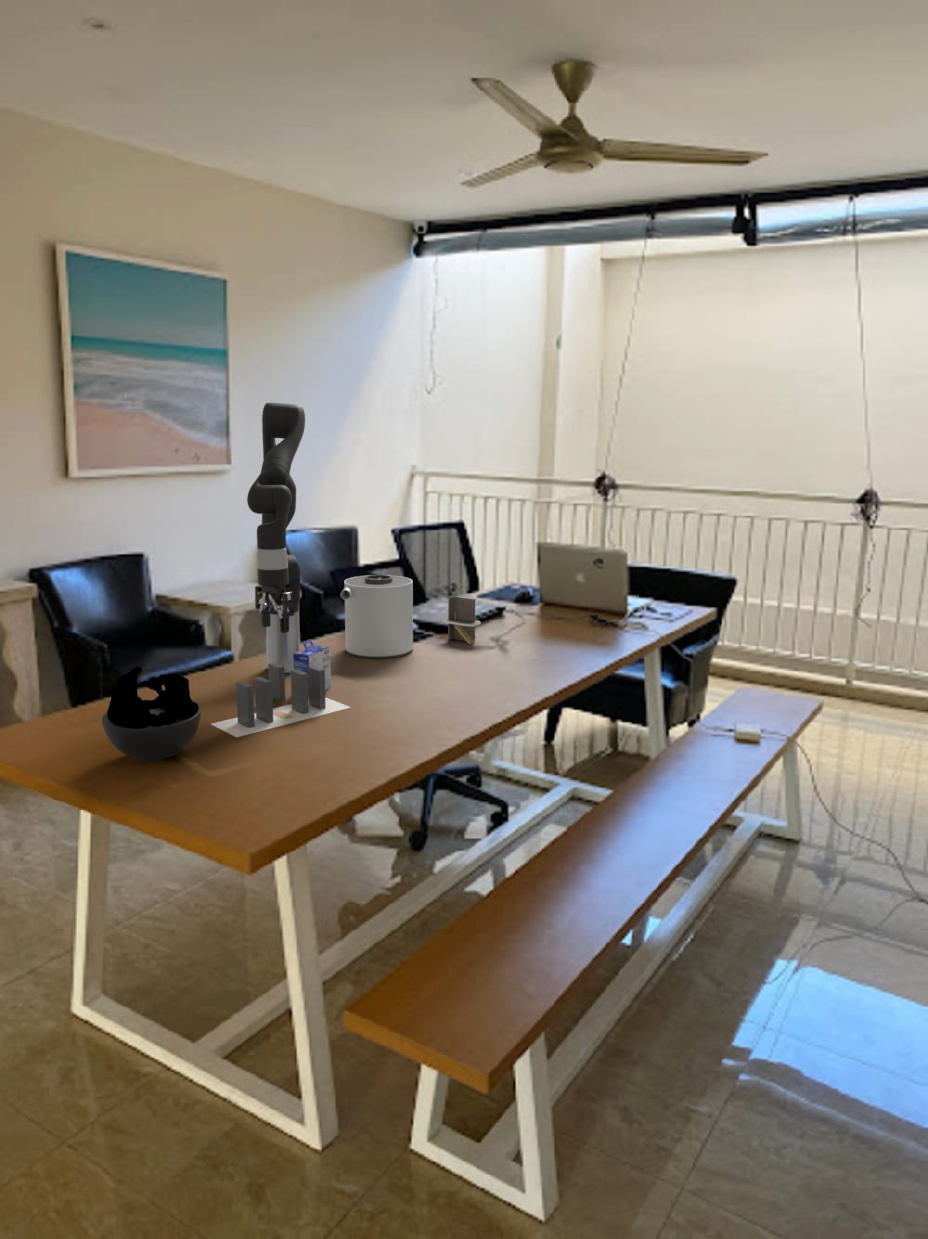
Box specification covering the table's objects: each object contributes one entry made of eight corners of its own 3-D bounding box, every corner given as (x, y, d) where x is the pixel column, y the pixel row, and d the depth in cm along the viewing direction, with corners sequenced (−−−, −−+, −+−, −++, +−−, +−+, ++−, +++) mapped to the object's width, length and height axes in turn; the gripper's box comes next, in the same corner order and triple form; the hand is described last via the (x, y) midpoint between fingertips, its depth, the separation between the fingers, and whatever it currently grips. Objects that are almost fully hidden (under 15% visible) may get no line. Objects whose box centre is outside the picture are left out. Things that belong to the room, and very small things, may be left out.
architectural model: (476, 654, 283) (477, 608, 280) (412, 642, 296) (412, 598, 293) (509, 642, 299) (510, 598, 296) (447, 631, 312) (447, 589, 309)
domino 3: (280, 705, 231) (278, 667, 229) (269, 701, 235) (268, 663, 233) (285, 704, 232) (284, 666, 230) (274, 699, 236) (273, 662, 234)
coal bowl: (203, 770, 190) (198, 683, 185) (101, 780, 184) (93, 691, 180) (202, 737, 208) (197, 658, 204) (109, 745, 203) (102, 664, 198)
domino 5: (320, 709, 225) (319, 670, 223) (308, 705, 229) (307, 666, 227) (325, 708, 226) (324, 669, 224) (314, 703, 230) (313, 665, 228)
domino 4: (303, 714, 222) (301, 674, 220) (291, 709, 225) (290, 670, 223) (308, 712, 223) (307, 673, 221) (297, 707, 227) (296, 669, 224)
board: (210, 728, 215) (210, 723, 214) (323, 700, 236) (323, 695, 236) (236, 741, 206) (236, 736, 206) (350, 711, 228) (350, 706, 227)
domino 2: (267, 723, 215) (265, 682, 213) (256, 718, 219) (254, 678, 216) (273, 721, 216) (271, 681, 214) (262, 716, 220) (260, 676, 218)
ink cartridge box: (315, 687, 246) (313, 635, 243) (332, 690, 244) (331, 638, 241) (293, 697, 238) (291, 644, 235) (311, 700, 235) (309, 646, 232)
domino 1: (248, 728, 212) (246, 687, 210) (237, 722, 215) (235, 682, 213) (254, 726, 213) (253, 685, 211) (243, 721, 216) (241, 680, 214)
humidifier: (407, 660, 274) (407, 584, 269) (338, 658, 276) (337, 582, 270) (417, 643, 295) (416, 572, 290) (353, 641, 296) (352, 570, 291)
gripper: (301, 567, 223) (303, 632, 227) (270, 561, 233) (272, 622, 237) (275, 571, 218) (278, 636, 222) (244, 564, 228) (247, 627, 232)
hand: (275, 629), depth 229 cm, fingers open, 8 cm apart
